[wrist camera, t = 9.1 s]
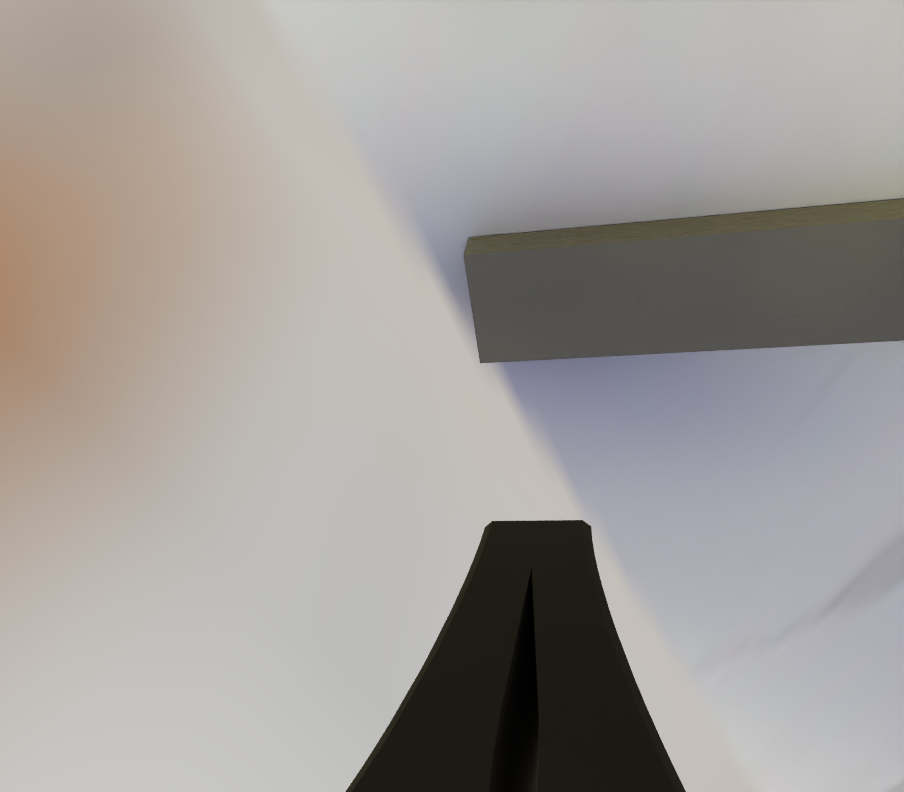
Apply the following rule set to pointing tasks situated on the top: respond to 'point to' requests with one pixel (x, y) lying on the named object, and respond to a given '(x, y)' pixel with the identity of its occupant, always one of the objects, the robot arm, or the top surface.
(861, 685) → the top surface
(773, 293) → the slot rails
